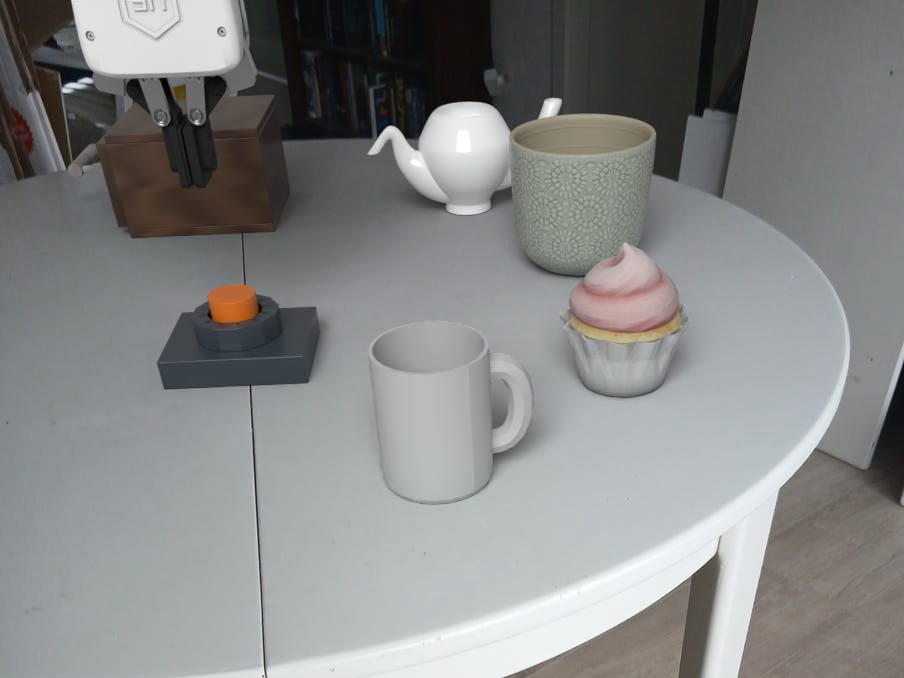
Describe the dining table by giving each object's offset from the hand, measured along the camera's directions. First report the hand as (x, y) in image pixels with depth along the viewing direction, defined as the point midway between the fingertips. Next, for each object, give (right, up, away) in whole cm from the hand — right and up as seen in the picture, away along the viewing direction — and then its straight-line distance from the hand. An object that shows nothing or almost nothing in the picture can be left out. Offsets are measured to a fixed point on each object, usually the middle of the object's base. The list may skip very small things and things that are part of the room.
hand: (197, 181), depth 70 cm
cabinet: (-8, +13, +35) cm, 38 cm away
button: (+1, -8, +6) cm, 10 cm away
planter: (+29, +2, +21) cm, 36 cm away
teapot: (+19, +12, +33) cm, 40 cm away
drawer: (-12, +13, +34) cm, 38 cm away
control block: (+1, -10, +8) cm, 13 cm away
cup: (+19, -22, -5) cm, 29 cm away
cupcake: (+31, -13, +4) cm, 33 cm away
